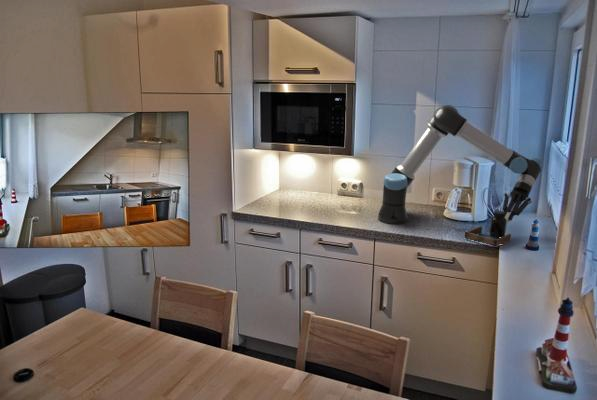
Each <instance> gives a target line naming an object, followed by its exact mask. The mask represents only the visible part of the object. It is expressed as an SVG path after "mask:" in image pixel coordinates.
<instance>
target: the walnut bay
mask: <svg viewBox="0 0 597 400" xmlns="http://www.w3.org/2000/svg"><path fill="white" fill-rule="evenodd" d="M482 232H483V226H478V227H475V228H472V229H470V230H467V231H465V232H464V238H466V239H470V240H474V241H478V242H482V243H486V244H490V245H493V246H497V245H499V244H504V245H506V244H508V243H510V242H511V239H512V238H511V237H512V234H510V233H508V234H505V236H503V237H501V238H494V239H493V238H491V237H487V236H483V235H481V234H482ZM480 233H481V234H480ZM477 234H479V235H477Z"/></svg>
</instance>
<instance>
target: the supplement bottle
mask: <svg viewBox="0 0 597 400" xmlns="http://www.w3.org/2000/svg"><path fill="white" fill-rule="evenodd" d="M506 221H507V220H506V218H505V212H504V211H503V210H494V211H493V216H492V217H491V218H490V226H489V236H490V237H491V236H492V238H493V237H497V238H496V239H498V238H499V237H503V236H505V235H506V229H507V226H506Z"/></svg>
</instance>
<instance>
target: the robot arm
mask: <svg viewBox="0 0 597 400" xmlns="http://www.w3.org/2000/svg"><path fill="white" fill-rule="evenodd" d="M449 134H450V135H452V136H453V137H459V138H461V139H462V140H463V141H465V142H466V143H468V144H470V145H471V146H473V147H474V148H476V149H478V150H479V151H481V152H482V153H484V154H485V155H487V156H489V157H491V159H493V160H495V161H496V162H498V163H499V164H501V165H503V167H505V168H507V169H508V170H510V172H512V173H514V174H519V177H518V179H517V180H516V182H515V184H514V186H513V188H512V191H510V193H507V192H506V193H504V201H503V205H502V211H503V212H505V218H506V220H507V221H506V227H508V225H509V223H510V222H511V221H512V220H513V218H514V216H516V217H517V216H520V215H521V214H522V212H523V211H524V210H525V209H526V207H527V206H528V205H530V204H532V202H533V201H532V199H531V197H529V196H530V193H531V192H532V189H533V187H534V185H535V183H536V181H537V179H538V177H539V175H540V173H541V172H542V169H543V167H544V162H543V161H542V160H541V159H540V158H538V157H536V156H534V157H533V156H532V157H529V158H528V157H525V156H523V155H522V154H520V153H519V152H516V151H515V150H513V149H512V148H508V147H507V146H505V145H504V144H502V143H500V142H498V141H497V140H496V139H494V138H492V137H490V136H489V135H487V133H484V132H483V131H481V130H480V129H478V128H477V127H476V126H473V125H472V124H470V123H469V122H468V119H466V118H465V117H463V115H461V114H460V113H459V111H458V110H457V108H455V106H453V105H451V104H443V105H441V106H439V107H438V108H436V110H435V111H434V114H433V115H432V117H431V118H430V119H429V120H428V121H427V128H426V130H425V132H424V133H423V134H422V135H421V137H420V138H419V140H418V141H417V143H415V145H414V146H413V148H412V149H411V150H410V151H409V153H408V154H407V156H406V157H405V158H404V160H403V161H402V163H401V164H399V165H396V166H395V168H394V169H393V170H392V172H391V173H389V174H386V175H385V176H384V178H383V183H382V184H383V188H382V191H383V192H382V203H381V204H382V205H381V207H380V209H379V212H378V213H377V219H378V221H380V222H382V223H386V224H390V225H392V224H394V225H401V224H404V223H408V217H409V216H408V214H407V208H406V199H407V191H408V189H409V186H411V184H412V182H413V181H414V180H415V178H416V177H415V174H416V172H417V171H418V170H419V169H420V167H421V166H422V164H423V163H424V162H425V160H426V159H427V158H428V156H430V154H431V153H432V152H433V150H434V148H435V147H436V146H437V144H438V143H439V142H440V141H441V139H442V138H445V137H447V136H448V135H449Z"/></svg>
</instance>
